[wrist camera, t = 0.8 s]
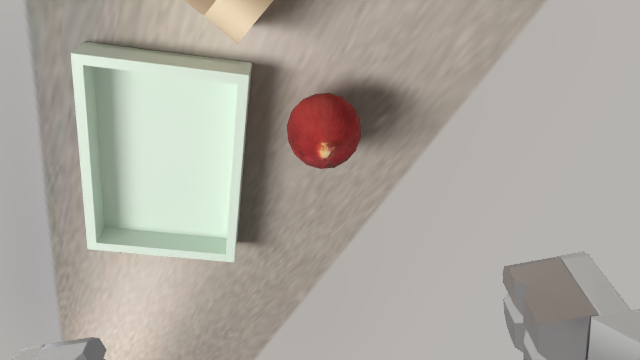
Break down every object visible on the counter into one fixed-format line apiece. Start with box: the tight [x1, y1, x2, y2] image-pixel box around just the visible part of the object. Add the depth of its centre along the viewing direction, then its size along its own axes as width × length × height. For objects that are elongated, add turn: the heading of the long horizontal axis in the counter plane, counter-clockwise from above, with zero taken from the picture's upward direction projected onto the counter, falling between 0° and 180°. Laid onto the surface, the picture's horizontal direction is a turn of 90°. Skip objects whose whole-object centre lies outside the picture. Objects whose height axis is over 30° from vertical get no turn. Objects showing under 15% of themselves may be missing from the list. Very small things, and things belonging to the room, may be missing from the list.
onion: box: [287, 93, 361, 169], centre depth 43 cm, size 6×6×8 cm
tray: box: [71, 42, 252, 262], centre depth 46 cm, size 18×13×3 cm
